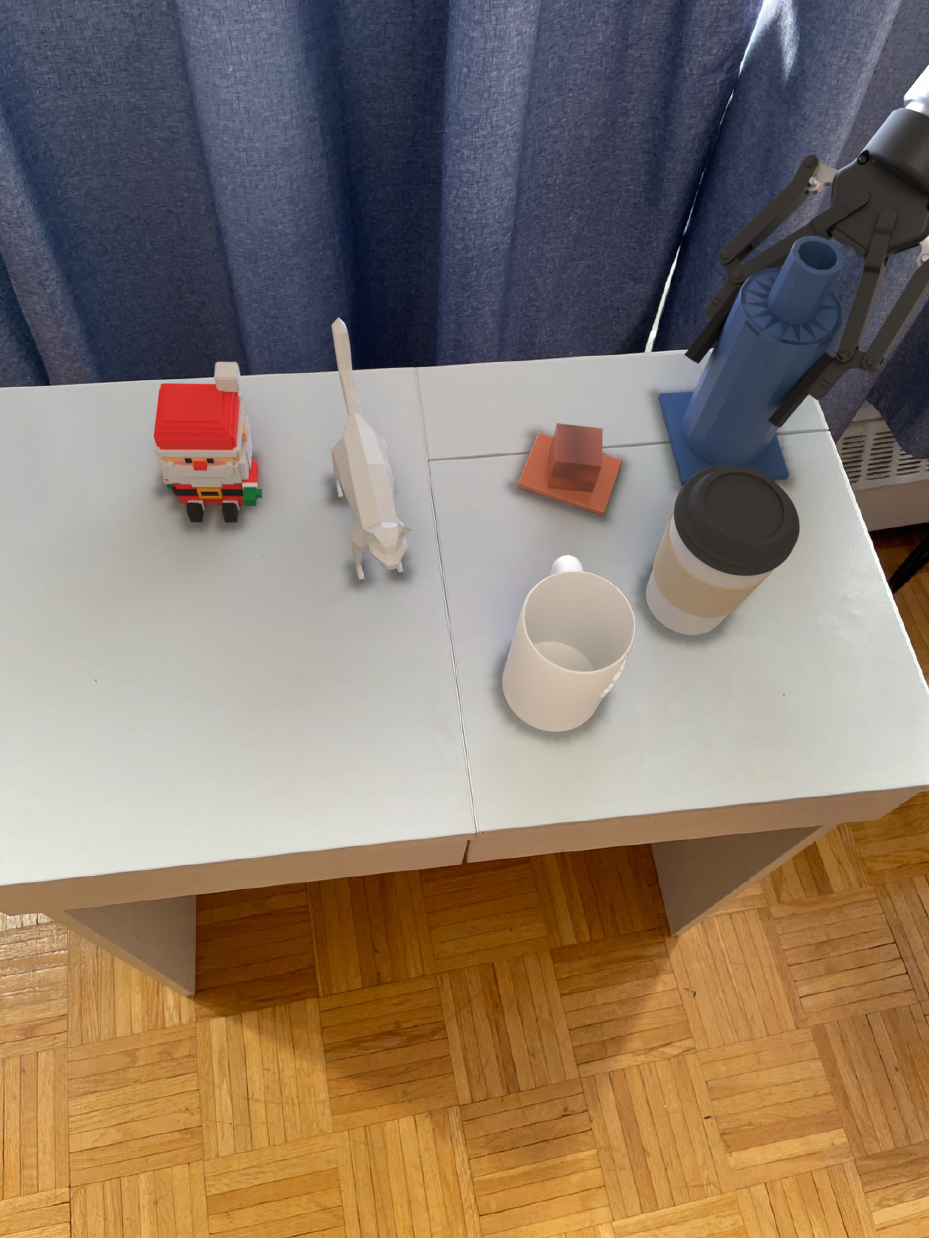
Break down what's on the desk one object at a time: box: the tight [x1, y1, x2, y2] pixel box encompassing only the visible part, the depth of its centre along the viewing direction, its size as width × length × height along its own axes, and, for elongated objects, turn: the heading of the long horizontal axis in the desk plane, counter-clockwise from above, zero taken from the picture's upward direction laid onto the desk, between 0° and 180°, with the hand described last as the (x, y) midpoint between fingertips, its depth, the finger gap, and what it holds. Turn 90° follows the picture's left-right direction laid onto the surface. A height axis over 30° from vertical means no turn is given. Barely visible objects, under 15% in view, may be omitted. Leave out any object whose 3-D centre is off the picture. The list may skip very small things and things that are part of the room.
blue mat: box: [658, 391, 790, 486], centre depth 87 cm, size 10×10×1 cm
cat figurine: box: [330, 317, 413, 581], centre depth 74 cm, size 4×20×14 cm, turn 14°
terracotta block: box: [548, 422, 604, 492], centre depth 81 cm, size 4×4×4 cm
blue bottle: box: [682, 236, 846, 467], centre depth 77 cm, size 8×8×21 cm
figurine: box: [153, 361, 263, 523], centre depth 75 cm, size 8×7×12 cm
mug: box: [501, 554, 637, 733], centre depth 70 cm, size 8×12×12 cm
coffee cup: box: [645, 465, 801, 636], centre depth 72 cm, size 9×9×15 cm
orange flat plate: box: [517, 431, 623, 516], centre depth 83 cm, size 8×6×1 cm
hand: (732, 391), depth 77 cm, fingers closed on blue bottle, 8 cm apart
